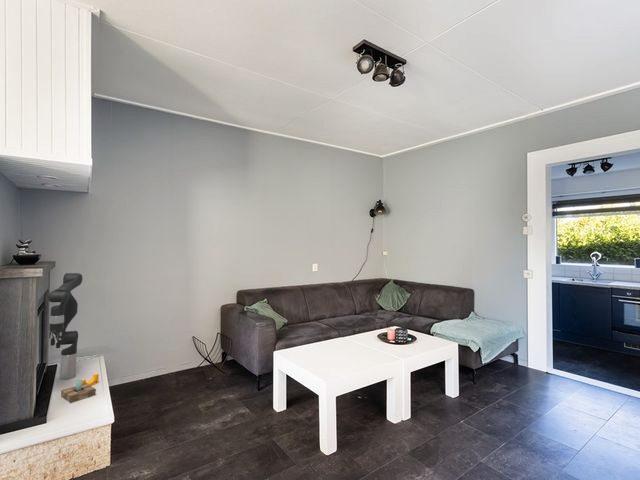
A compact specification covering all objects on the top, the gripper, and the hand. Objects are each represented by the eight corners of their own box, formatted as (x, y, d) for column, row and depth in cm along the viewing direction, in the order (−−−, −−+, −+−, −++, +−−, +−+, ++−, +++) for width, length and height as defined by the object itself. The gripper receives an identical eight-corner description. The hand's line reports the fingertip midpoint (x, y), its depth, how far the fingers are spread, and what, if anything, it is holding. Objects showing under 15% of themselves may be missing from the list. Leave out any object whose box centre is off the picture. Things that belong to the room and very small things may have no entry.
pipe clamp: (93, 382, 239) (93, 373, 239) (98, 383, 238) (98, 374, 238) (77, 389, 227) (77, 379, 227) (82, 390, 226) (83, 380, 226)
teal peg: (74, 396, 217) (75, 380, 217) (79, 394, 220) (80, 379, 220) (76, 397, 216) (77, 381, 216) (81, 395, 218) (82, 380, 218)
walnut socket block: (60, 396, 215) (61, 390, 215) (85, 389, 227) (85, 383, 227) (70, 403, 208) (71, 396, 208) (95, 395, 220) (95, 389, 220)
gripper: (68, 322, 220) (66, 347, 220) (58, 319, 227) (57, 343, 227) (54, 324, 213) (52, 350, 213) (45, 321, 221) (43, 345, 221)
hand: (55, 346), depth 220 cm, fingers open, 8 cm apart
